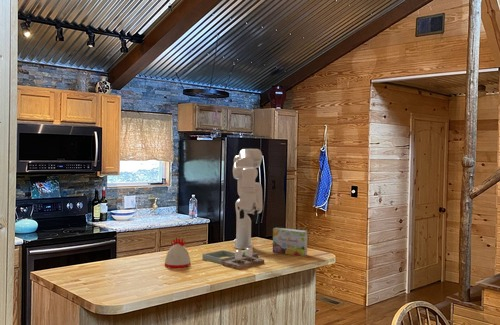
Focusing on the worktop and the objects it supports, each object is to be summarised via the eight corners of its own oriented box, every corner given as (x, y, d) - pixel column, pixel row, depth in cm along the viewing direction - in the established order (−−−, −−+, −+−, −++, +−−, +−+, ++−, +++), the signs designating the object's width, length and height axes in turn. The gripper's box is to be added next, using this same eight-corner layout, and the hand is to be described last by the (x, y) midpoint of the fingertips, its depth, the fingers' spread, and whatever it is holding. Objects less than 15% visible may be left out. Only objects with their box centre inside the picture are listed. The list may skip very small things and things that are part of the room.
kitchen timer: (185, 269, 256) (185, 240, 256) (160, 267, 259) (161, 239, 259) (193, 263, 270) (194, 236, 270) (170, 261, 273) (170, 235, 272)
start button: (241, 257, 282) (242, 250, 282) (247, 256, 285) (247, 249, 285) (247, 258, 279) (247, 251, 279) (252, 257, 282) (252, 250, 282)
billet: (243, 262, 267) (244, 248, 267) (248, 261, 270) (249, 247, 270) (248, 264, 264) (249, 249, 264) (253, 263, 267) (254, 248, 267)
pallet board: (222, 267, 261) (222, 261, 261) (248, 261, 276) (248, 256, 276) (238, 271, 253) (238, 265, 253) (264, 265, 267) (264, 259, 267)
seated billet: (233, 265, 261) (233, 250, 261) (238, 264, 264) (238, 249, 264) (238, 266, 259) (238, 251, 258) (243, 265, 262) (243, 250, 261)
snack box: (272, 252, 300) (272, 228, 299) (275, 251, 305) (276, 227, 304) (304, 256, 290) (304, 231, 289) (307, 254, 295) (308, 230, 294)
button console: (236, 258, 282) (236, 253, 282) (247, 256, 288) (247, 251, 288) (247, 261, 276) (247, 256, 276) (258, 258, 282) (258, 253, 282)
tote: (202, 260, 276) (202, 254, 276) (223, 256, 288) (223, 250, 288) (221, 265, 265) (221, 259, 265) (242, 260, 276) (242, 254, 276)
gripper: (233, 188, 278) (232, 218, 279) (254, 192, 266) (254, 222, 267) (242, 187, 283) (241, 216, 285) (264, 191, 271) (263, 221, 273)
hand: (247, 219), depth 276 cm, fingers open, 9 cm apart
